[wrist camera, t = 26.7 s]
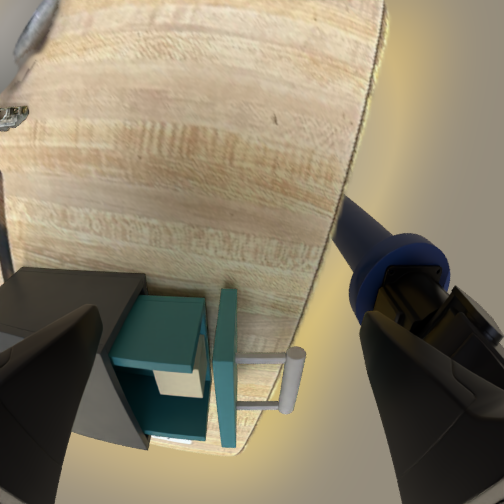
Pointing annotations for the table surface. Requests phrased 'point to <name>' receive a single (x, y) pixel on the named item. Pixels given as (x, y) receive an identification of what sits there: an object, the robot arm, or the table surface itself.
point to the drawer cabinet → (113, 316)
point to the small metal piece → (13, 117)
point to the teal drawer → (191, 366)
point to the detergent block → (185, 377)
